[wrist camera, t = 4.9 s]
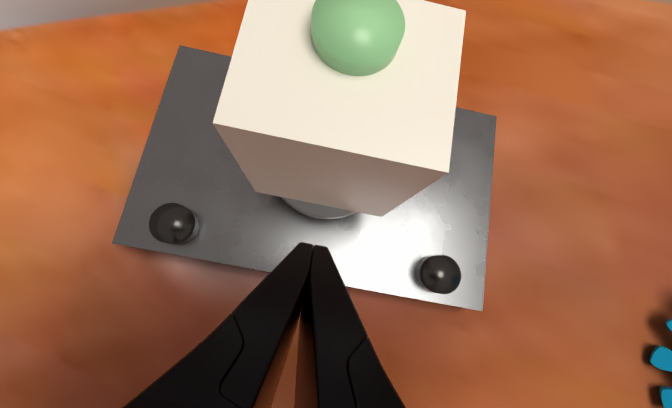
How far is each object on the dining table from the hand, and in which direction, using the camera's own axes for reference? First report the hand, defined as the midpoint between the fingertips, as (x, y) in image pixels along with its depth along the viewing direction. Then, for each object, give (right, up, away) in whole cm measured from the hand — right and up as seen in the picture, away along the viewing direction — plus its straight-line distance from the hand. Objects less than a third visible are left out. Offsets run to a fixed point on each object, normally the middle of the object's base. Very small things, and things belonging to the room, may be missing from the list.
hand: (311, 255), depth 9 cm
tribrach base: (0, +3, +11) cm, 11 cm away
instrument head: (+1, +5, +7) cm, 9 cm away
